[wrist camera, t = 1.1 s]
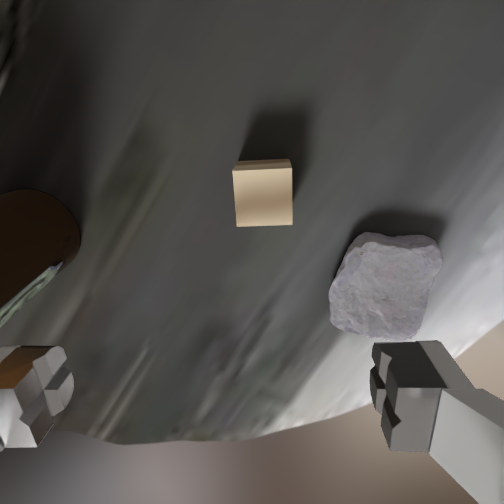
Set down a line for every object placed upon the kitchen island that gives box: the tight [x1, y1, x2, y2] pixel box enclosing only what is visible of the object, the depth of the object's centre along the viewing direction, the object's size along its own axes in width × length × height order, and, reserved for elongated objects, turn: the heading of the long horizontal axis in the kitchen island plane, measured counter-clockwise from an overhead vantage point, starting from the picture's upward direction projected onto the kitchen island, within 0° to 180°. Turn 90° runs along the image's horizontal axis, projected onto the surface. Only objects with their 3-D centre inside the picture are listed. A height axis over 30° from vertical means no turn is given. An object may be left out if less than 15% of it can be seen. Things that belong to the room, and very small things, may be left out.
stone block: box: [328, 232, 443, 342], centre depth 37 cm, size 12×5×10 cm
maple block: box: [233, 159, 292, 227], centre depth 32 cm, size 5×5×5 cm
